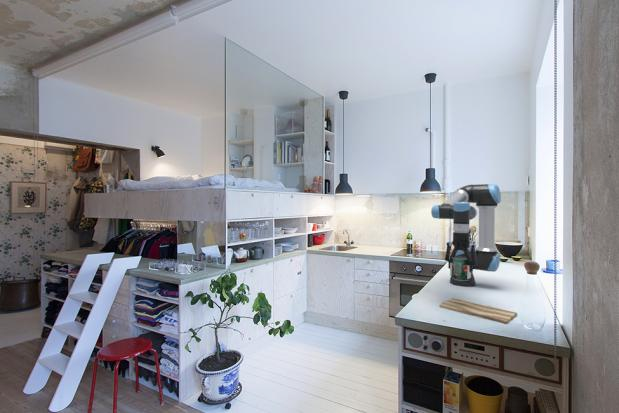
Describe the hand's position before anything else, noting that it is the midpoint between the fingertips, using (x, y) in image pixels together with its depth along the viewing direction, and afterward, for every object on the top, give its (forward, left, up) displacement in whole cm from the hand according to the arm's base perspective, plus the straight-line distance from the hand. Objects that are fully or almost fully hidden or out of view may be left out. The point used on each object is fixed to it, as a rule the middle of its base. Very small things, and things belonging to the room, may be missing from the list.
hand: (460, 276), depth 162 cm
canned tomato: (0, 0, -1) cm, 1 cm away
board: (0, +8, -15) cm, 18 cm away
